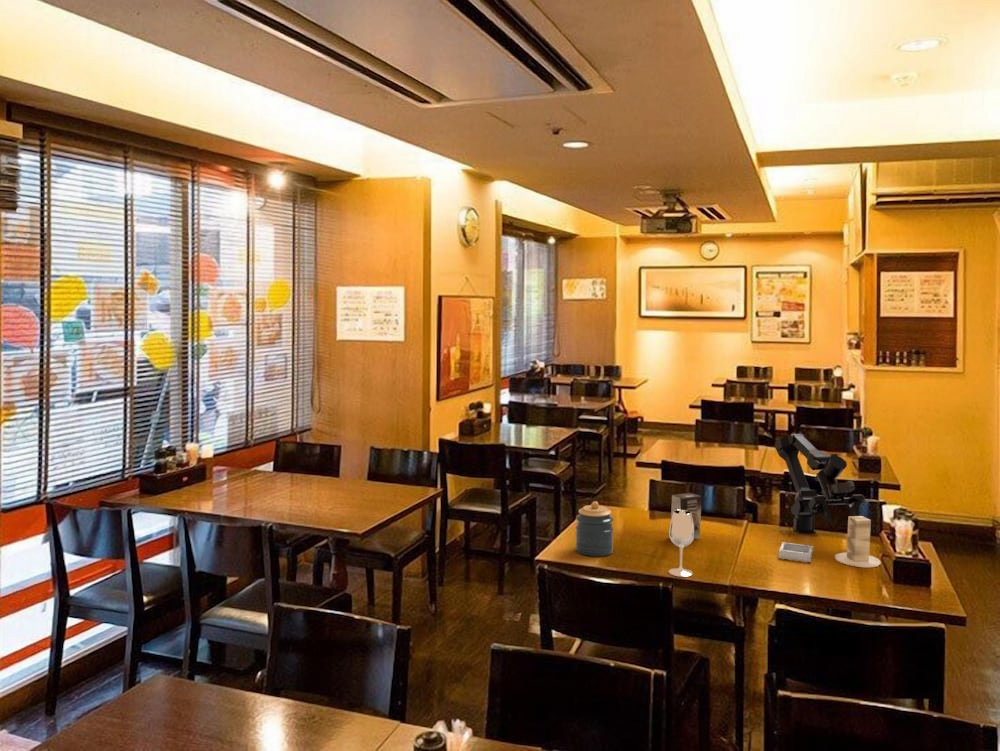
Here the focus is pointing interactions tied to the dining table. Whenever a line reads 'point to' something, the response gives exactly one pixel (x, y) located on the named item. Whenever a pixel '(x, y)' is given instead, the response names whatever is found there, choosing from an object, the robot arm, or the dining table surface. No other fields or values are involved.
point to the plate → (864, 564)
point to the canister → (594, 530)
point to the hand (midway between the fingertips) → (845, 523)
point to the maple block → (858, 538)
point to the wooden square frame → (796, 552)
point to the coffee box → (689, 508)
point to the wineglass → (681, 537)
